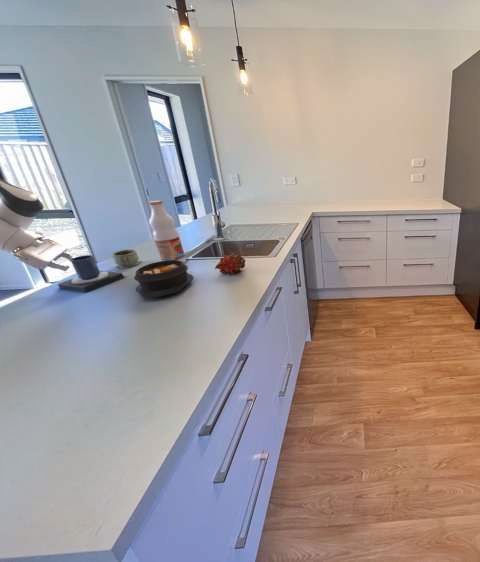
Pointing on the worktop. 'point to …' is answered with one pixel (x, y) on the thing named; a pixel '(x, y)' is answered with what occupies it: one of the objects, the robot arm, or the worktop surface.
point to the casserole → (162, 278)
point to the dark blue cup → (85, 267)
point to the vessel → (126, 258)
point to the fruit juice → (165, 233)
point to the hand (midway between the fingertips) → (72, 265)
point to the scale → (90, 282)
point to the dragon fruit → (231, 264)
